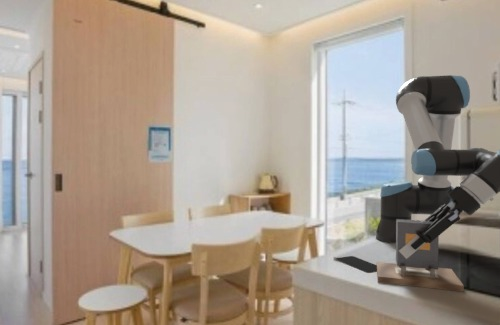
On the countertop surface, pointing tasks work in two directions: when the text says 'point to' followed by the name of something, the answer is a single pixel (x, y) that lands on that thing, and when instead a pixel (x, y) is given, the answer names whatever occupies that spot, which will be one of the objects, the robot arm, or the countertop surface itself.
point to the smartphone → (358, 264)
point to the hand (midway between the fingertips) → (401, 251)
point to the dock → (418, 277)
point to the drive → (424, 254)
